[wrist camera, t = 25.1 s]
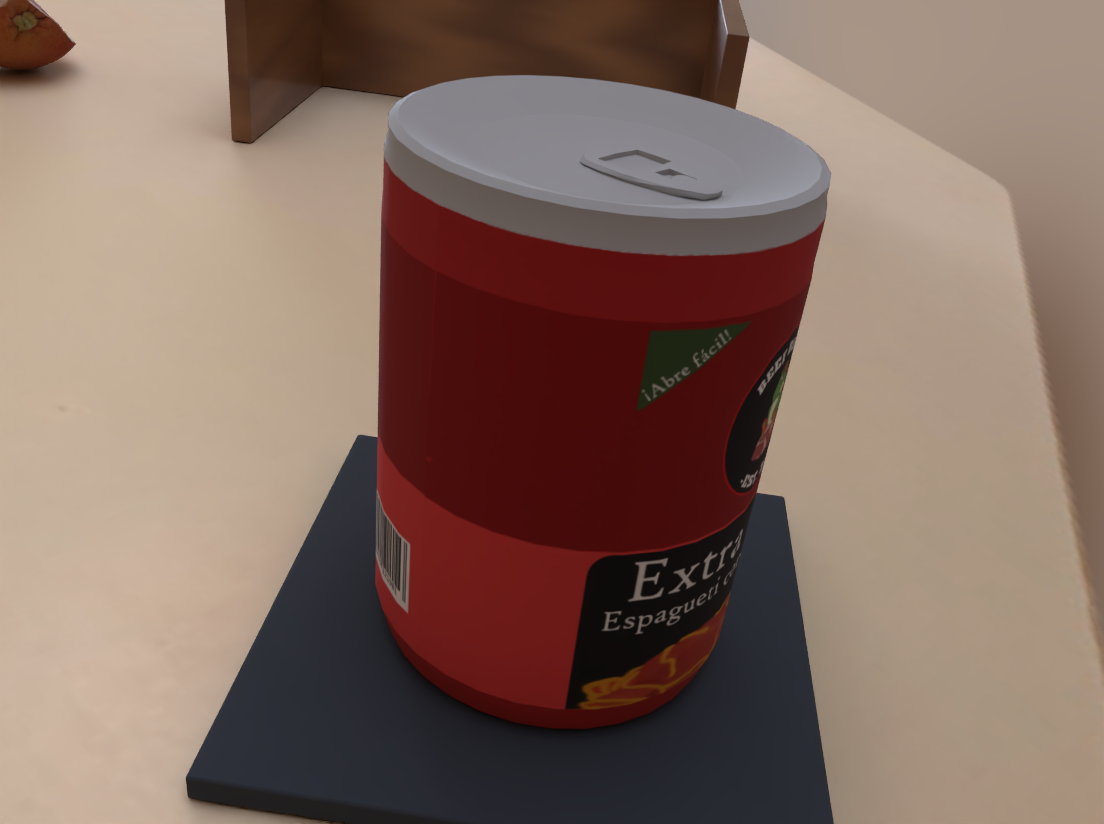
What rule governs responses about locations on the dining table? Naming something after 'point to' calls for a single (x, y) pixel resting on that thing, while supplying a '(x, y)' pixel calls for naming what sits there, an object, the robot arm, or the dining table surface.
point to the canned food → (578, 382)
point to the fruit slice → (29, 36)
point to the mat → (497, 744)
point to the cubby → (473, 47)
